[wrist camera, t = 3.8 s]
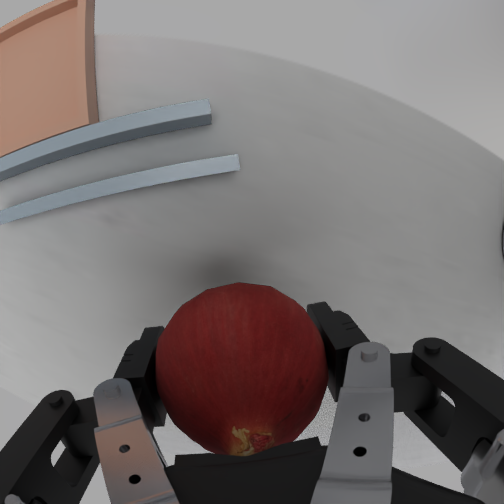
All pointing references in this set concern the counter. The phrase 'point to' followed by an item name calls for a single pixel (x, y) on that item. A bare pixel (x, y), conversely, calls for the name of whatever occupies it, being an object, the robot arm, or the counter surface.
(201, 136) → the counter surface
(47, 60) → the terracotta dish
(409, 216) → the counter surface
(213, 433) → the pomegranate
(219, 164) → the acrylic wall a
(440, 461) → the counter surface
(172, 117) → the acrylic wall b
